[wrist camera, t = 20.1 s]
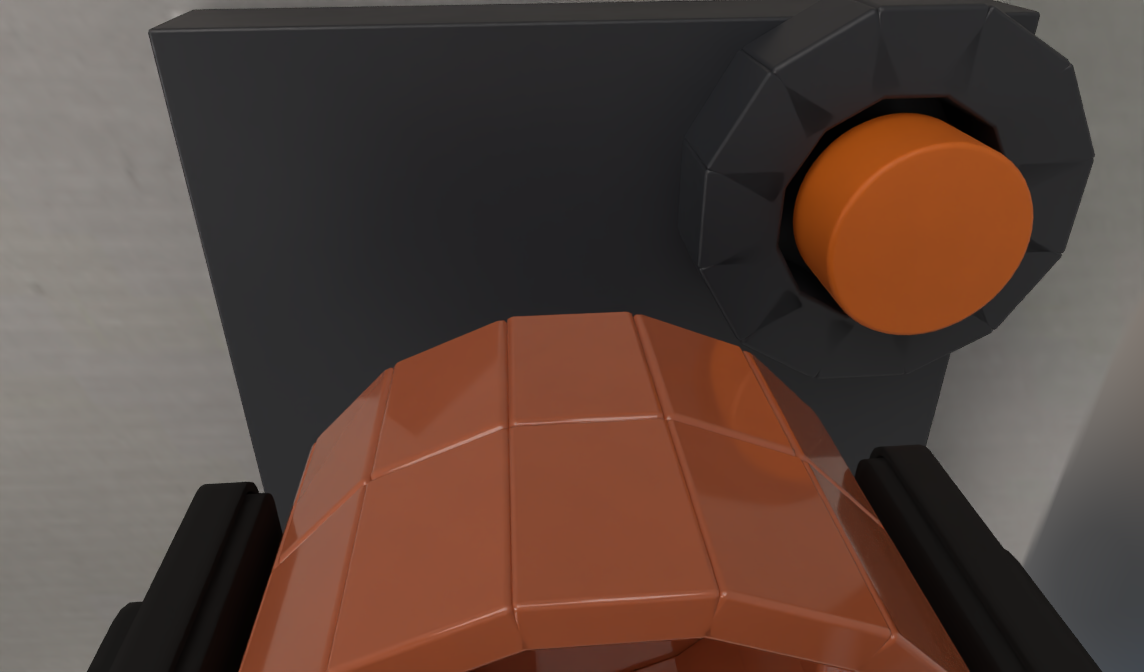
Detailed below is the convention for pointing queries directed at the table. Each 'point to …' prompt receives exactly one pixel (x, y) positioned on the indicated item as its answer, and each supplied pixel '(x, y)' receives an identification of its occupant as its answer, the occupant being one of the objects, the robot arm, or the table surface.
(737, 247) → the scale
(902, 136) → the button
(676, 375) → the flower pot
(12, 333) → the table surface
